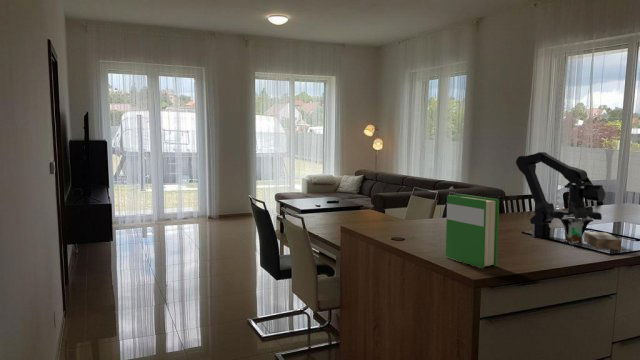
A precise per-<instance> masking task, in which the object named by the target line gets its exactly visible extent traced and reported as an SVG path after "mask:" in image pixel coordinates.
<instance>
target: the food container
mask: <svg viewBox="0 0 640 360" xmlns="http://www.w3.org/2000/svg"><path fill="white" fill-rule="evenodd" d="M567 219H569V221H568V234H566V231H565V228H564V227H563V229H564V238H565V239H564V240H565V241H566V240H567V241H568V242H570V243H571V244H572V245H571V244H570V243H569V244H570V245H571V246H577V245H576V244H579V245H581V244H583V235H582V226H583V225H584V224H583V221H582V218H575V217H567ZM567 241H566V242H567ZM568 242H567V243H568Z"/></svg>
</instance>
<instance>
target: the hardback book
mask: <svg viewBox="0 0 640 360" xmlns="http://www.w3.org/2000/svg"><path fill="white" fill-rule="evenodd" d="M446 196H447V197H446V232H445V234H446V235H445V257H446V256H447V257H450V258H453V259H456V260H459V261H462V262H465V263H468V264H471V265H474V266H478V267H481V268H484V269H485V267H490V266H491V265H494V266H497V267H498V254H499V253H498V252H499V222H500V221H499V220H500V199H499V198H491V197H484V196H483V197H482V196H478V195H477V196H476V195H470V194H449V195H446ZM494 266H493V267H494Z"/></svg>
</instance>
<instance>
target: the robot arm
mask: <svg viewBox="0 0 640 360" xmlns="http://www.w3.org/2000/svg"><path fill="white" fill-rule="evenodd" d="M539 163H542V164H544V165H546V166H548V167H549V168H551V169H553V170H555V171H556V172H558V173H559V174H561V175H562V176H563V178H565V180H566V181H568V182H567V184H565V185H564V186H563V187H564V188H565V189H568V200H567V203H568V205H567V207H568V209H567V212H566V211H565V212H564V211H563V210H558V209H557V210H556V209H555V207H554V203H552V202H550V203H549V202H548V201H547V199H546V196H545V194H544V191H543V188H542V186H541V184H540V181H539V178H538V176H537V173H536V172H537V171H536V170H537V164H539ZM515 164H516V166H517V168H518V170H519V171H520V172H521V173H522V175H523V176H524V178H525V180H526V182H527V185H528V187H529V190H530V194H531V197H532V200H533V202H534V215H533V216H532V217H531V218H529V221H530V224H532V233H531V236H532V237H533V238H536V239H537V238H540V239H550V238H551V227H550V224H552V221H553V220H554V219H558V220H560V221H561V223H562V225H563V229H564V228H565V230H564V232H565V231H566V234H568V221H569V219H567V218H578V219H581V220H582V221H583V224H584V225H583V226H582V236H584V232H586V229H587V227H588V225H589V224H590V223H591V222H594V220H596V221H601V220H602V218H603V215H602V213H601V212H598V211H594V208H593V207H592V206H586V204H585V203H586V202H585V200H586V201H591V202H603V201H604V199H605V196H606V191H605V189H604V188H603V184H593V183H592V181H591V179H590V178H589V177H588V172H587V171H586V170H584V169H582V168H578V167H574V166H571V165H568V164H566V163H565V162H563V161H561V160H559V159H557V158H556V157H553V156H552V155H550V154H548V152H545V151H540V152H539V151H538V152H536V153H533V154H530V155H519V156H518V157H517V158H516V160H515Z"/></svg>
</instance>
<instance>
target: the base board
mask: <svg viewBox="0 0 640 360" xmlns="http://www.w3.org/2000/svg"><path fill="white" fill-rule="evenodd" d="M583 242H584V243H586V242H587V243H586V244H588V245H589V244H590V246H591V247H593V248H594V247H595V248H594V249H596V250H610V251H611V250H612V251H613V250H614V251H621V249H622V240H621V239H620V238H618V237H616V236H614V235H611V234H610V233H608V232H601V231H600V232H598V231H595V232H594V231H584V233H583Z"/></svg>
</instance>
